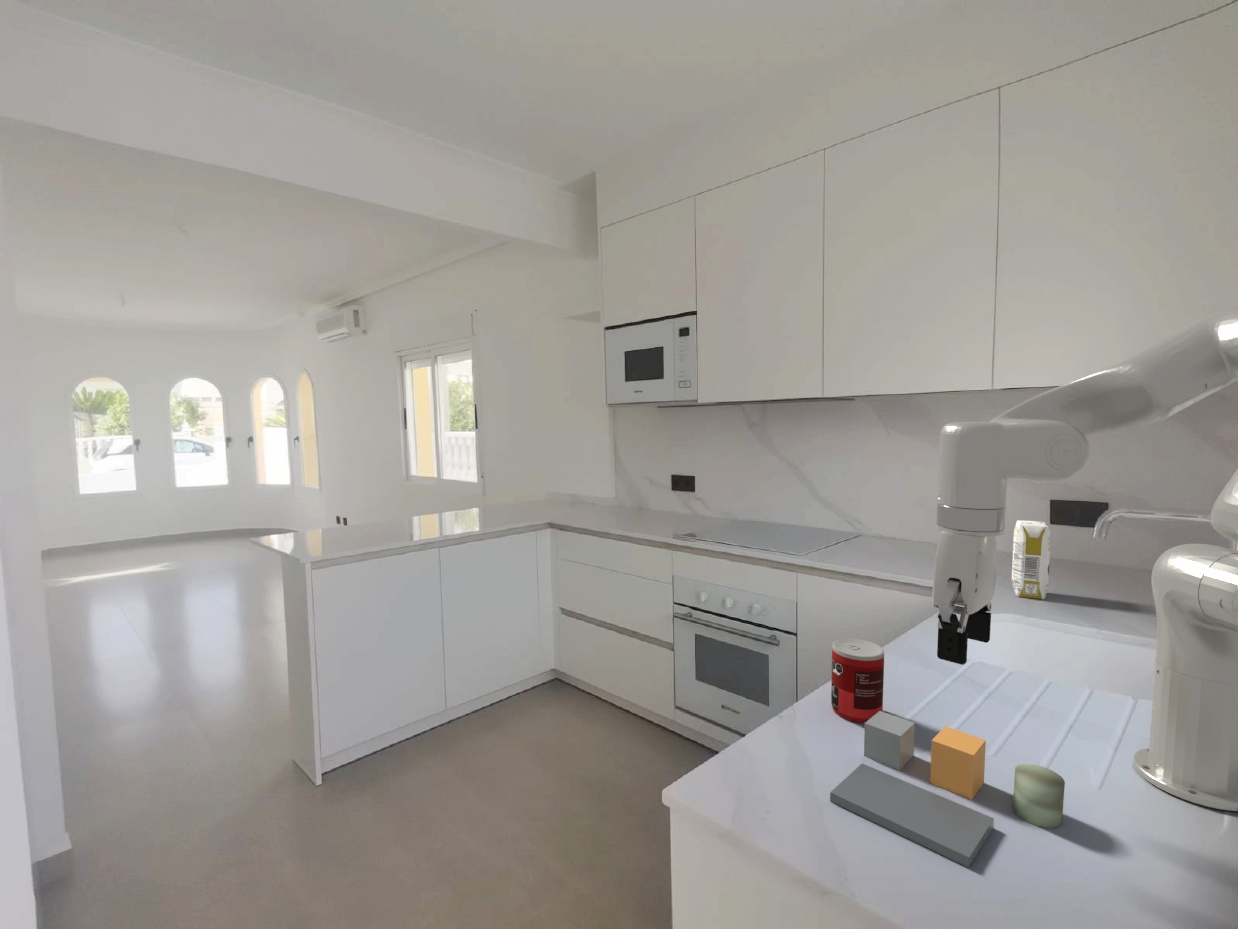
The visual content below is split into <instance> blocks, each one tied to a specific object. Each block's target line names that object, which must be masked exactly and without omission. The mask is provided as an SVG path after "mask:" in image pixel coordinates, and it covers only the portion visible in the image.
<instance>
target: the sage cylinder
mask: <svg viewBox="0 0 1238 929" xmlns="http://www.w3.org/2000/svg"><path fill="white" fill-rule="evenodd" d="M1013 780H1014V783H1013V800H1012V809H1013V812H1014V813H1015V815H1017V817H1018V818H1020V819H1022V820H1023V821H1024V822H1027V823H1029V824H1031V825H1034V826H1037V827H1039V828H1043V829H1044V828H1045V829H1056V828H1059V827H1061V826H1062V824H1063V816H1064V801H1065V787H1066V786H1065V785H1066V783H1065V780H1064V778H1063V777H1062V776H1061V775H1060V774H1058V773H1057V772H1055V771H1054V770H1051V769H1049V768H1047V767H1044V766H1041V765H1039V764H1032V763H1021V764H1018V765H1016V766H1015V769H1014V779H1013Z"/></svg>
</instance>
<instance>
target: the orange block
mask: <svg viewBox="0 0 1238 929" xmlns="http://www.w3.org/2000/svg"><path fill="white" fill-rule="evenodd" d="M986 743H987V742H986V739H984V738H981V737H977V736H975V735H971V734H968V733H967V732H963V731H961V730H957V729H956V728H955V729H954V728H951V727H948V726H944V727H943V728H942V729H941V730H940V731H939V732H938V733H937V734H936V735H935V736H934V737H933V738H932V739H931V752H930V776H929V777H930V779H929V782H930V784H932V785H935V786H937V787H939V788H942V789H945V790H947V791H950V792H952V793H955V794H957V795H959V796H962V797H964V798H966V799H968V800H971V801H972V800H973V799H974V798H975V796H976V794H977V793H978V792H979V791H980V789H981V788H982V786H983V785H984V783H985V767H986V765H985V764H986V762H985V761H986Z"/></svg>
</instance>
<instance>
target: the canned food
mask: <svg viewBox="0 0 1238 929" xmlns="http://www.w3.org/2000/svg"><path fill="white" fill-rule="evenodd" d="M884 672H885V651H884V649H883V647H882V646H880V645H879V644H877V643H874V642H873V641H869V640H865V639H861V638H860V639H858V638H840V639H837V640H835V641H833V642H832V648H831V688H830V689H831V690H830V691H831V694H830V698H831V699H830V702H831V708H832V710H833V712H834V713H835V714H836V715H838V716H839V717H841V718H843V719H845V720H846V721H850V722H855V723H861V724H862V723H863V724H865V723H866V722H867V721H868V720H869V719H870V718H872V717H873V716H874V715H875V714H877V713H878V712H879V711H882V712H883V711H884V710H883V707H884V706H883V705H884V704H883V703H884V676H885V673H884Z"/></svg>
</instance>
